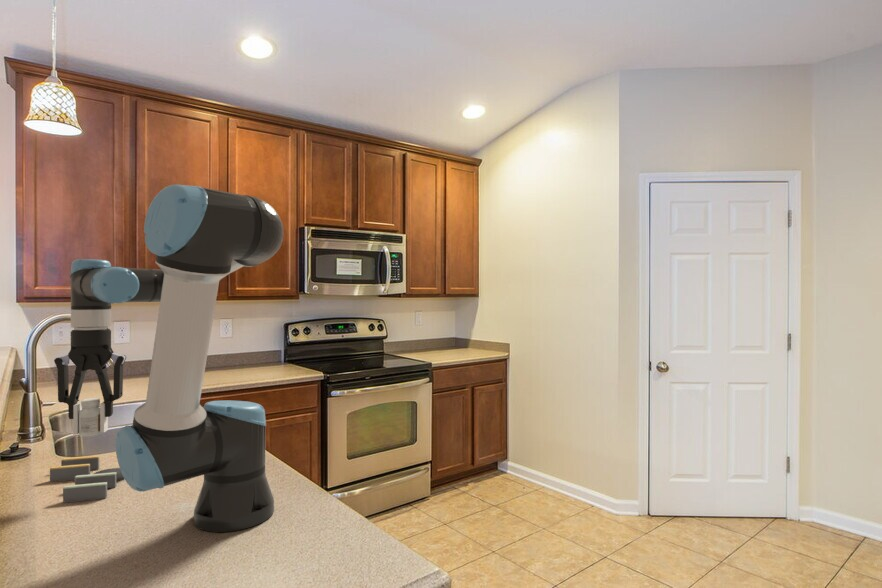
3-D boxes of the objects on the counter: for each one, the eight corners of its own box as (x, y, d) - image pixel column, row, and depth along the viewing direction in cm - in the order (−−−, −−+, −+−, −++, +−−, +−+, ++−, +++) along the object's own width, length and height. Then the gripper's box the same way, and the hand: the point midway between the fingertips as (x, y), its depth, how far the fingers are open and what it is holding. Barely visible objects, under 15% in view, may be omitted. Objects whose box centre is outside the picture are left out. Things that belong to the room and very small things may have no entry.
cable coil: (121, 483, 121) (121, 476, 121) (87, 486, 119) (87, 479, 119) (129, 473, 128) (129, 466, 128) (97, 476, 126) (97, 469, 126)
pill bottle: (105, 433, 115) (104, 399, 115) (81, 438, 112) (81, 403, 111) (99, 429, 118) (99, 396, 118) (76, 433, 115) (76, 399, 114)
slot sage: (105, 498, 112) (105, 483, 112) (63, 502, 110) (63, 487, 110) (116, 486, 119) (116, 472, 119) (76, 489, 117) (76, 475, 117)
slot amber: (88, 478, 124) (88, 465, 124) (49, 481, 122) (49, 468, 122) (99, 468, 131) (99, 455, 131) (62, 471, 129) (62, 458, 129)
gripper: (139, 326, 121) (139, 425, 121) (52, 327, 116) (52, 430, 116) (130, 328, 114) (130, 433, 114) (37, 330, 108) (37, 439, 109)
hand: (91, 431), depth 115 cm, fingers closed on pill bottle, 4 cm apart
